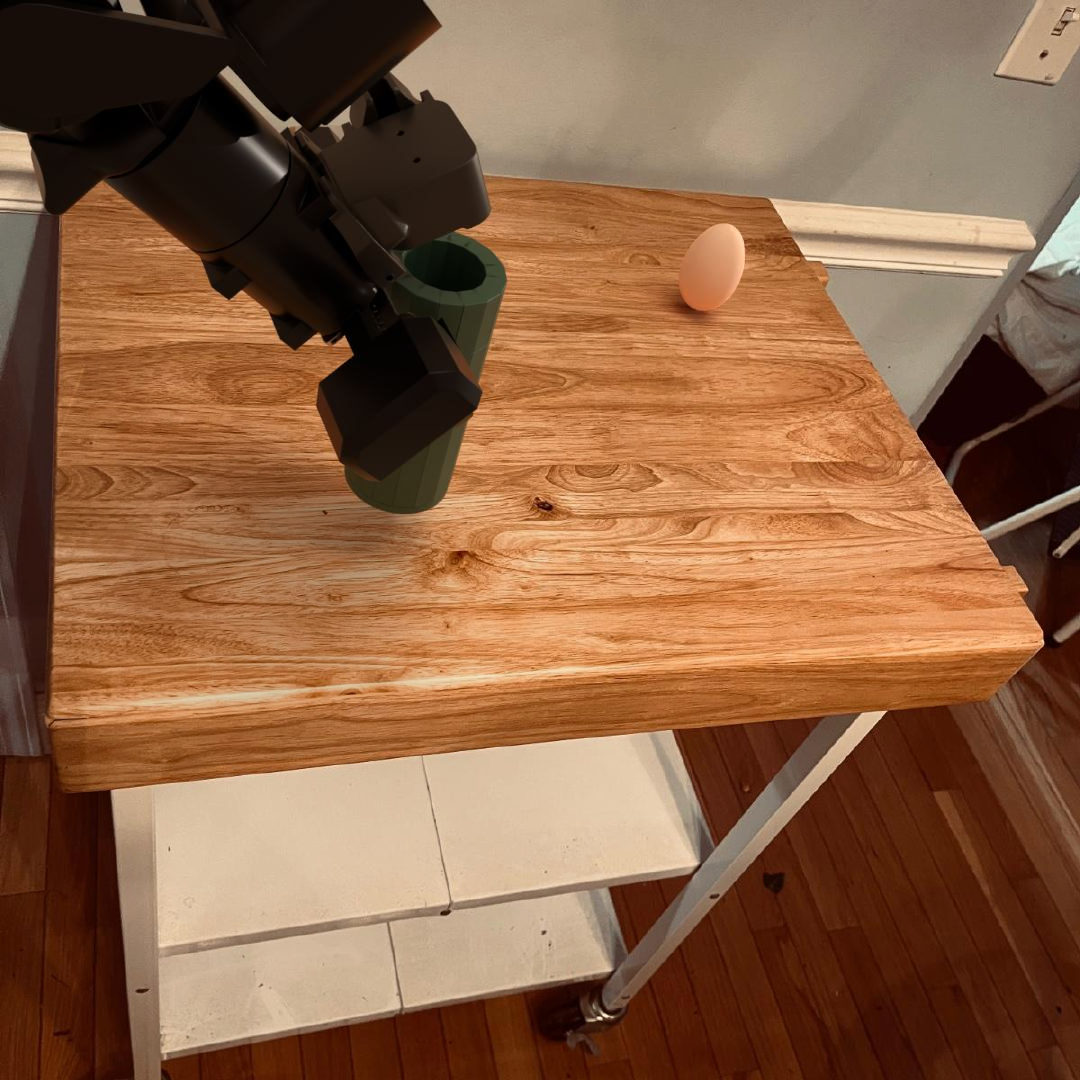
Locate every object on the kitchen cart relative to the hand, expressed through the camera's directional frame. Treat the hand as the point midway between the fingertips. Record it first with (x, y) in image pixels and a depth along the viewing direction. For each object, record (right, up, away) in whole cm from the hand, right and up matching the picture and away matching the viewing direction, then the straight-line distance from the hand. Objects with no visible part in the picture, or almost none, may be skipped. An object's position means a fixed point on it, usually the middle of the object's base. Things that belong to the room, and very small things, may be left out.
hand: (443, 378), depth 54 cm
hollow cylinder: (-3, -5, +4) cm, 7 cm away
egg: (+17, +10, +31) cm, 37 cm away
